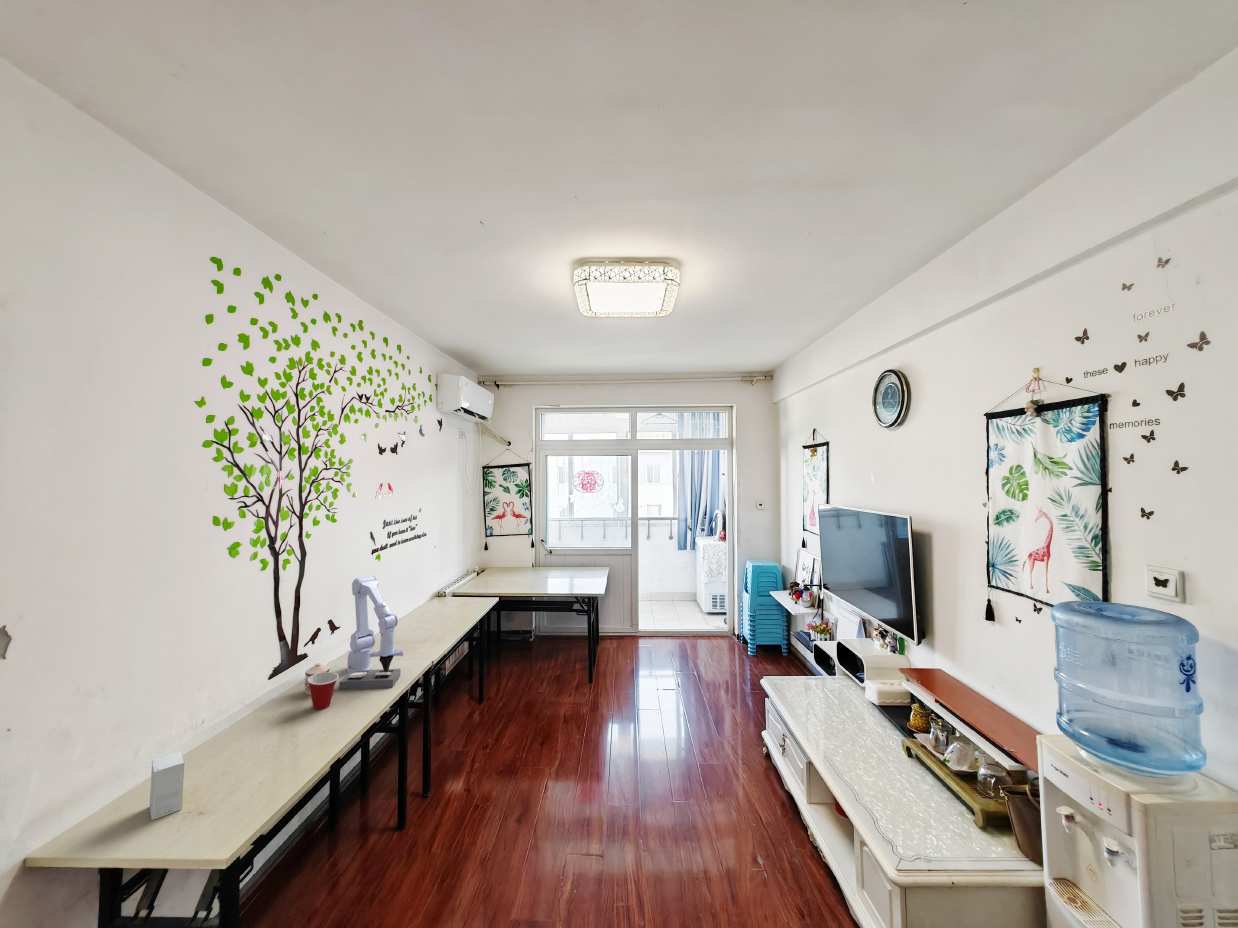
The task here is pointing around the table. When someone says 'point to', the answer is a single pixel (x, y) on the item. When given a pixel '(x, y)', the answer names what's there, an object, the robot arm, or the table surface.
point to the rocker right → (383, 673)
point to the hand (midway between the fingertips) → (386, 671)
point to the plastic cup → (322, 689)
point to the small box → (166, 785)
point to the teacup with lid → (311, 671)
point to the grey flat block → (369, 680)
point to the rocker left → (357, 674)
